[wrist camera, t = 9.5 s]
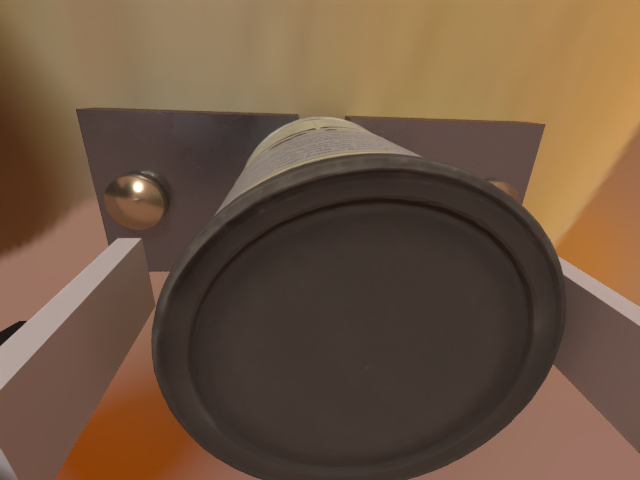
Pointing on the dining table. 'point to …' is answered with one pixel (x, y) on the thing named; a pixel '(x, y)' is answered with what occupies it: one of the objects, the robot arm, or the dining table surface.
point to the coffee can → (356, 311)
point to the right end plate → (467, 145)
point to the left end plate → (167, 170)
